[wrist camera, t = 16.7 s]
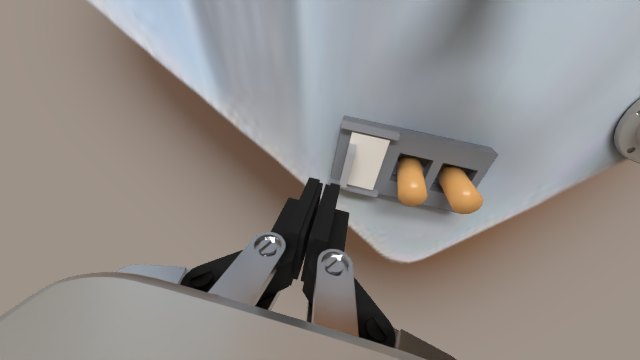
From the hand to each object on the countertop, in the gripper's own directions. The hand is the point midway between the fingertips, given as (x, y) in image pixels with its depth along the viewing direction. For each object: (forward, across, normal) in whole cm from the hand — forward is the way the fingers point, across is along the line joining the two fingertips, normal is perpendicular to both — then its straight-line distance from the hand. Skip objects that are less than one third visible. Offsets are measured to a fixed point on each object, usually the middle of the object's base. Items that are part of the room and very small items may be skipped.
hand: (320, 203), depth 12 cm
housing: (+29, -11, +10) cm, 33 cm away
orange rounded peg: (+29, -19, +10) cm, 36 cm away
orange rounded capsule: (+29, -12, +10) cm, 33 cm away
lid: (+26, -4, +10) cm, 29 cm away
